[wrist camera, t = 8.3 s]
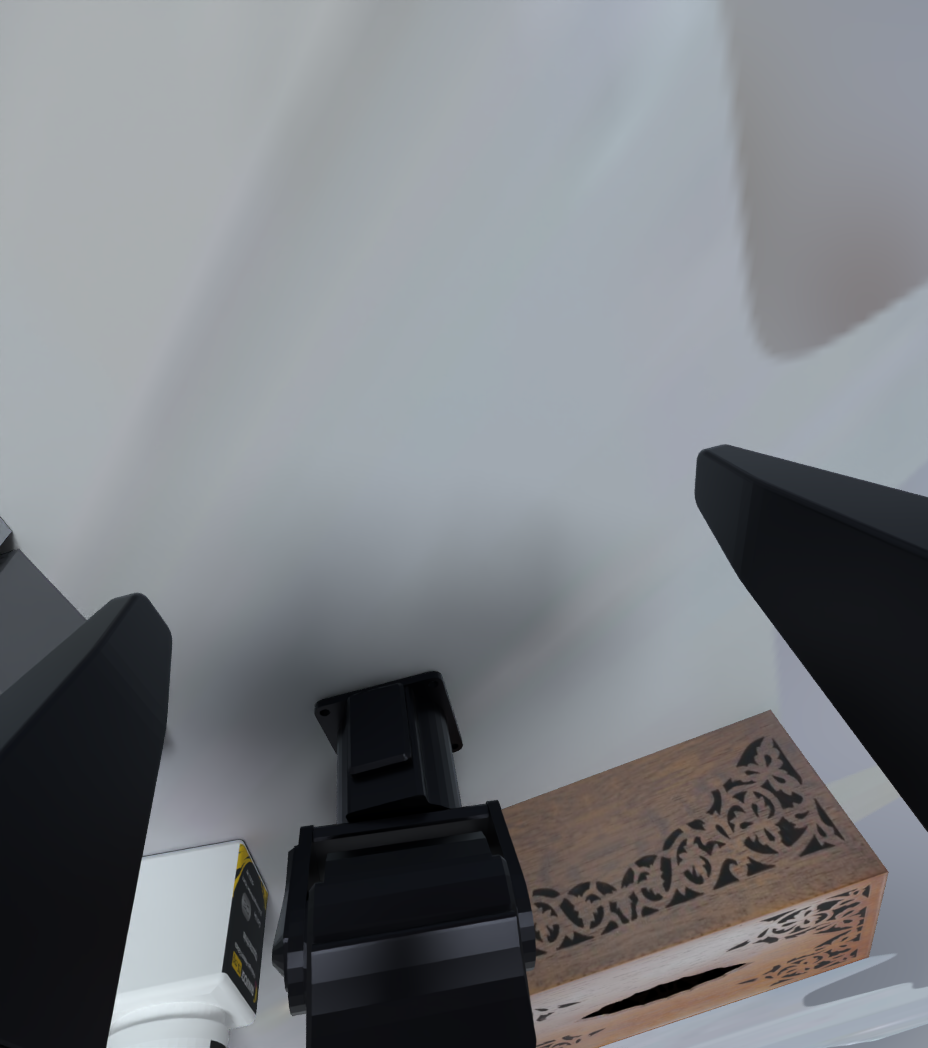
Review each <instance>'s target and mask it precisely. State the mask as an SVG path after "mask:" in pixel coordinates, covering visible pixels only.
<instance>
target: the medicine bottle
mask: <svg viewBox="0 0 928 1048" xmlns="http://www.w3.org/2000/svg"><path fill="white" fill-rule="evenodd" d="M267 896H268V892H267V889H266V887H265V885H264V883H263V881H262V879H261V877H260V875H259V873H258V871H257V868H256V866H255V864H254V862H253V860H252V858H251V856H250V854H249V852H248V850H247V848H246V846H245V844H244V842H243V841H242V840H234V841H229V842H223V843H217V844H212V845H206V846H201V847H195V848H190V849H184V850H178V851H173V852H167V853H162V854H156V855H150V856H145V857H142V861H141V866H140V871H139V877H138V882H137V887H136V893H135V898H134V903H133V909H132V914H131V919H130V925H129V930H128V935H127V941H126V946H125V951H124V957H123V962H122V967H121V972H120V978H119V983H118V988H117V994H116V999H115V1004H114V1010H113V1015H112V1020H111V1026H110V1031H109V1036H108V1042H107V1047H106V1048H228V1042H229V1034H230V1031H229V1030H230V1029H235V1028H239V1027H244V1026H248V1025H251V1024H252V1023H253V1022H254V1021H255V1018H256V1010H257V1000H258V989H259V979H260V969H261V958H262V948H263V938H264V927H265V917H266V907H267Z"/></svg>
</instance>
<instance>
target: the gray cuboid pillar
mask: <svg viewBox="0 0 928 1048" xmlns="http://www.w3.org/2000/svg"><path fill="white" fill-rule="evenodd" d="M86 621H87V620H86V619H85V618H84V617H83V616H82V615H81V614H80V613H79V612H78V611H77V609H76V608H75V607H74V606H73V605H72V604H71V603H70V602H69V601H68V600H67V599H66V598H65V597H64V596H63V595H62V594H61V593H60V592H59V590H58V589H57V588H56V587H55V586H54V585H53V584H52V583H51V582H50V581H49V580H48V579H47V578H46V577H45V576H44V575H43V574H42V573H41V571H40V570H39V569H38V568H37V567H36V566H35V565H34V564H33V563H32V562H31V561H30V560H29V559H28V558H27V557H26V556H25V555H24V554H23V552H22V551H21V550H20V549H17V550H14V551H11V552H8V553H5V554H2V555H0V694H2V693H3V692H4V691H5V690H6V689H7V688H9V687H10V686H11V685H12V684H13V683H14V682H16V681H17V680H18V679H19V678H20V677H21V676H23V675H24V674H25V673H26V672H27V671H28V670H30V669H31V668H32V667H33V666H34V665H35V664H37V663H38V662H39V661H40V660H41V659H42V658H44V657H45V656H46V655H47V654H48V653H50V652H51V651H52V650H53V649H54V648H55V647H57V646H58V645H59V644H60V643H61V642H62V641H64V640H65V639H66V638H67V637H68V636H69V635H71V634H72V633H73V632H74V631H75V630H76V629H78V628H79V627H80V626H81V625H82V624H83V623H85V622H86Z"/></svg>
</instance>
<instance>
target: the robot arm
mask: <svg viewBox="0 0 928 1048" xmlns="http://www.w3.org/2000/svg"><path fill="white" fill-rule="evenodd" d="M695 500H696V504H697V506H698V508H699V510H700V512H701V514H702V515H703V517H704V519H705V520H706V522H707V524H708V526H709V527H710V529H711V531H712V533H713V534H714V536H715V538H716V540H717V541H718V543H719V545H720V547H721V548H722V550H723V552H724V554H725V555H726V557H727V559H728V561H729V562H730V564H731V566H732V568H733V569H734V571H735V572H736V574H737V576H738V577H739V579H740V580H741V582H742V583H743V585H744V586H745V587H746V589H747V590H748V592H749V593H750V594H751V596H752V597H753V598H754V600H755V601H756V602H757V604H758V605H759V606H760V608H761V609H762V610H763V612H764V613H765V614H766V616H767V617H768V618H769V620H770V621H771V622H772V624H773V625H774V626H775V628H776V629H777V631H778V632H779V633H780V635H781V636H782V637H783V639H784V640H785V641H786V642H787V644H788V645H789V647H790V648H791V649H792V651H793V652H794V653H795V655H796V656H797V657H798V659H799V660H800V661H801V662H802V664H803V665H804V667H805V668H806V669H807V671H808V672H809V673H810V675H811V676H812V677H813V679H814V680H815V682H816V683H817V684H818V686H819V687H820V688H821V690H822V691H823V692H824V694H825V695H826V696H827V698H828V699H829V700H830V702H831V703H832V704H833V706H834V707H835V708H836V710H837V711H838V712H839V714H840V715H841V716H842V718H843V719H844V720H845V722H846V723H847V725H848V726H849V727H850V729H851V730H852V731H853V733H854V734H855V735H856V736H857V738H858V739H859V741H860V742H861V743H862V745H863V746H864V747H865V749H866V750H867V751H868V753H869V754H870V755H871V757H872V758H873V759H874V761H875V762H876V763H877V765H878V766H879V768H880V769H881V770H882V772H883V773H884V774H885V776H886V777H887V778H888V780H889V781H890V782H891V784H892V785H893V786H894V788H895V789H896V790H897V792H898V793H899V794H900V796H901V797H902V798H903V800H904V801H905V802H906V804H907V805H908V806H909V808H910V809H911V810H912V812H913V813H914V815H915V816H916V817H917V818H918V820H919V821H920V823H921V824H922V825H923V827H924V828H925V829H926V831H927V832H928V497H925V496H921V495H918V494H913V493H909V492H906V491H902V490H898V489H895V488H891V487H887V486H883V485H879V484H876V483H872V482H868V481H864V480H860V479H857V478H853V477H849V476H845V475H841V474H838V473H834V472H830V471H826V470H822V469H819V468H815V467H811V466H807V465H803V464H799V463H796V462H792V461H788V460H784V459H780V458H777V457H773V456H769V455H765V454H761V453H758V452H754V451H750V450H746V449H742V448H739V447H735V446H731V445H727V444H724V445H719V446H715V447H711V448H707V449H703V450H702V451H701V452H700V453H699V454H698V457H697V464H696V478H695ZM171 654H172V636H171V632H170V630H169V628H168V626H167V624H166V623H165V622H164V620H163V619H162V617H161V616H160V615H159V613H158V612H157V610H156V609H155V607H154V606H153V605H152V603H151V602H150V600H149V599H148V598H147V597H146V596H145V595H143V594H141V593H133V594H129V595H125V596H121V597H117V598H114V599H112V600H111V601H109V602H108V603H107V604H106V605H105V606H103V607H102V608H101V609H100V610H99V611H97V612H96V613H95V614H94V615H93V616H92V617H90V618H89V619H88V620H87V621H86V622H85V623H83V624H82V625H81V626H80V627H79V628H78V629H76V630H75V631H74V632H73V633H72V634H71V635H69V636H68V637H67V638H66V639H65V640H64V641H62V642H61V643H60V644H59V645H58V646H57V647H55V648H54V649H53V650H52V651H51V652H50V653H48V654H47V655H46V656H45V657H44V658H42V659H41V660H40V661H39V662H38V663H37V664H35V665H34V666H33V667H32V668H31V669H30V670H28V671H27V672H26V673H25V674H24V675H23V676H21V677H20V678H19V679H18V680H17V681H16V682H14V683H13V684H12V685H11V686H10V687H9V688H7V689H6V690H5V691H4V692H3V693H2V694H0V1048H106V1047H107V1042H108V1036H109V1031H110V1026H111V1020H112V1015H113V1010H114V1004H115V999H116V994H117V988H118V983H119V978H120V972H121V967H122V962H123V957H124V951H125V946H126V941H127V935H128V930H129V925H130V919H131V914H132V909H133V903H134V898H135V893H136V887H137V882H138V877H139V871H140V866H141V861H142V856H143V850H144V845H145V840H146V834H147V829H148V824H149V818H150V813H151V808H152V802H153V797H154V792H155V786H156V781H157V776H158V770H159V765H160V760H161V754H162V749H163V744H164V737H165V731H166V723H167V714H168V699H169V684H170V669H171ZM432 681H433V682H432ZM314 713H315V716H316V718H317V720H318V722H319V723H320V725H321V727H322V729H323V731H324V732H325V734H326V736H327V738H328V740H329V741H330V743H331V745H332V747H333V749H334V750H335V752H336V754H337V824H334V825H327V826H319V827H314V825H310V826H302V827H301V828H300V835H299V844H298V845H297V846H294V848H293V849H292V850H290V851H289V852H288V864H287V877H286V888H285V895H284V900H283V905H282V909H281V913H280V918H279V922H278V926H277V931H276V935H275V939H274V944H273V949H272V964H273V966H274V967H275V968H276V969H277V970H278V971H279V973H280V974H281V975H282V976H283V977H284V982H285V989H286V992H288V1000H289V1008H290V1013H291V1015H292V1016H295V1015H301V1014H306V1048H536V1043H537V1040H536V1033H535V1028H534V1021H533V1014H532V1007H531V1001H530V994H529V987H528V980H527V974H526V971H531V970H533V969H534V967H535V962H536V939H535V929H534V921H533V915H532V909H531V903H530V898H529V894H528V890H527V885H526V882H525V879H524V875H523V872H522V869H521V866H520V863H519V860H518V857H517V854H516V851H515V848H514V845H513V843H512V840H511V837H510V834H509V831H508V828H507V825H506V822H505V819H504V816H503V813H502V810H501V807H500V804H499V801H498V800H494V801H487V802H486V804H481V805H473V806H466V807H462V805H461V799H460V794H459V788H458V782H457V777H456V771H455V765H454V759H453V754H452V753H453V752H456V751H459V750H460V749H461V748H462V747H463V743H462V738H461V735H460V732H459V728H458V725H457V722H456V719H455V716H454V712H453V709H452V706H451V703H450V700H449V696H448V693H447V690H446V687H445V684H444V681H443V677H442V675H441V673H439V672H435V671H433V672H428V673H424V674H420V675H416V676H412V677H408V678H405V679H401V680H397V681H393V682H389V683H385V684H381V685H378V686H374V687H370V688H366V689H362V690H358V691H354V692H351V693H347V694H343V695H339V696H335V697H331V698H327V699H324V700H321V701H318V702H317V703H316V704H315V712H314Z"/></svg>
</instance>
